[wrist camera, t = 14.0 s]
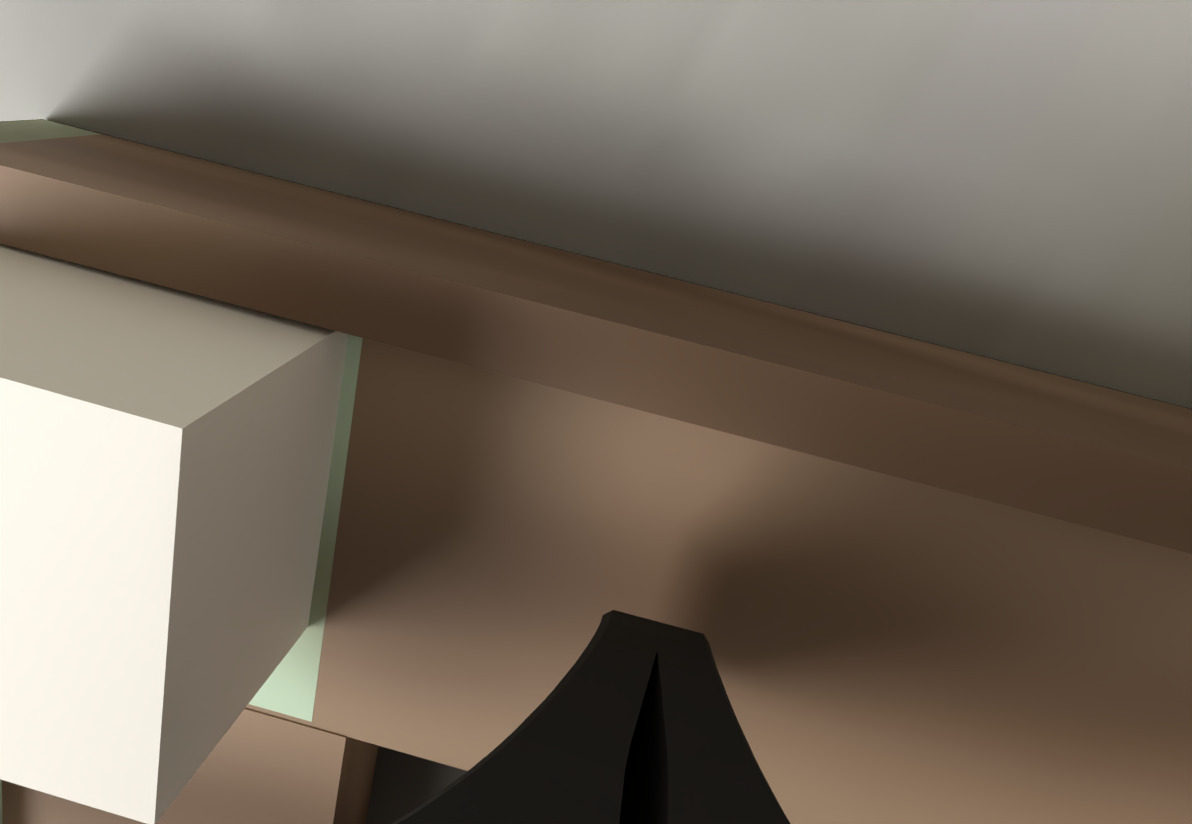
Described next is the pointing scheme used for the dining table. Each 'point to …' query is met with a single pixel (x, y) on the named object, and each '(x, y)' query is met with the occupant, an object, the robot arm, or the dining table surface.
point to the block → (148, 522)
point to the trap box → (664, 518)
